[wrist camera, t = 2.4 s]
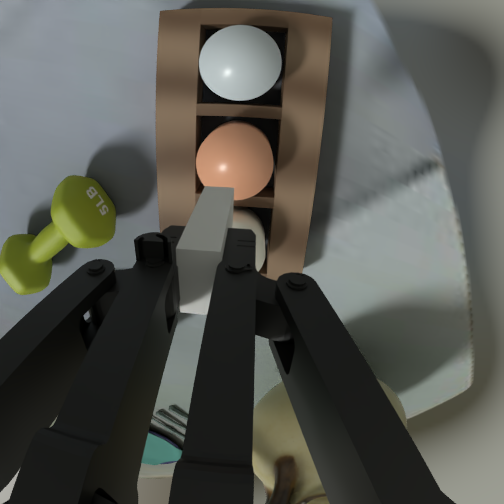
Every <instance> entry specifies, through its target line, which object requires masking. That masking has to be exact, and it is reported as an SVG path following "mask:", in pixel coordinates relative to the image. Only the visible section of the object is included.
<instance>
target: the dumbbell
mask: <svg viewBox="0 0 504 504" xmlns="http://www.w3.org/2000/svg"><path fill="white" fill-rule="evenodd" d="M51 217H52V220H53V221H52V222H51V223H50V224H49V225H47V226H46V227H45V228H44V229H43V230H42V231H41V232H40V233H39V234H38V235H37V236H35V235H32V234H17V235H12V236H11V237H9V238H8V239H7V240H6V242H5V243H4V245H3V247H2V251H1V255H0V274H1V275H2V277H3V278H4V279H5V281H6V282H7V283H8V284H9V286H10V287H11V288H12V289H13V290H14V291H15V292H16V293H18V294H20V295H27V294H33V293H37V292H40V291H42V290H43V289H45V288H46V287H47V286H48V285H49V282H50V279H51V273H52V257H53V256H54V255H56V254H57V253H58V252H59V251H61V250H62V249H63V248H64V247H65V246H66V245H67V244H68V243H70V244H71V245H73V246H74V247H77V248H94V247H99V246H102V245H104V244H105V243H107V242H108V241H109V240H111V239H112V238H113V236H114V233H115V225H116V209H115V206H114V204H113V202H112V201H111V199H110V198H109V197H108V195H107V194H106V192H105V191H104V190H103V188H102V187H101V186H100V184H99V183H98V182H97V181H95V180H94V179H91V178H88V177H83V176H76V175H72V176H68V177H66V178H65V179H64V180H63V181H62V182H61V183H60V184H59V185H58V187H57V188H56V190H55V193H54V196H53V200H52V205H51Z"/></svg>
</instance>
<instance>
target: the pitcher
mask: <svg viewBox="0 0 504 504" xmlns="http://www.w3.org/2000/svg"><path fill="white" fill-rule="evenodd" d="M376 379H377V378H376ZM377 380H378V382H379V384H380V385H381V387H382V389H383V390H384V392H385V394H386V395H387V397H388V399H389V400H390V402H391V404H392V405H393V407H394V409H395V411H396V412H397V414H398V416H399V417H400V419H401V421H402V422H403V424H404V426H405V428H406V429H407V420H406V415H405V411H404V408H403V406H402V403H401V402H400V400H399V398H398V397H397V395H396V394H395V393H394V392H393V390H392V389H391V388H390V387H388V386H387V385H386V384H385V383H383V382H382V381H380V380H379V379H377ZM252 464H253V470H254V473H255V474H256V475H257V477H259V479H260V480H261V481H262V482H263V484H264V488H265V493H266V497H267V499H266V503H265V504H329V501H328V499H327V496H326V493H325V491H324V488H323V486H322V483H321V481H320V478H319V475H318V473H317V470H316V468H315V465H314V462H313V460H312V457H311V455H310V452H309V449H308V447H307V444H306V441H305V439H304V436H303V434H302V431H301V428H300V426H299V423H298V420H297V418H296V415H295V412H294V410H293V407H292V404H291V402H290V399H289V396H288V394H287V391H286V388H285V386H284V383H283V381H282V382H281V383H279V384H278V385H276V386H275V387H274V388H272V389H271V390H270V391H269V392H268V393H267V394H266V395H265V396H264V397H263V398H262V399H261V400H260V401H259V402H258V404H257V405H256V406H255V408H254V409H253V452H252Z"/></svg>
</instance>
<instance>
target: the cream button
mask: <svg viewBox="0 0 504 504" xmlns="http://www.w3.org/2000/svg"><path fill="white" fill-rule="evenodd" d="M232 228H239V229H251V230H252V231H253V232H254V233H255V234H256V263H255V266H256V269H257V271H259V270H260V269H261V267H262V265H263V263H264V260H265V232H264V226H263V223H262V221H261V219H260V218H259V217H258V215H257V214H255V213H254V212H253V211H252V210H250V209H248V208H246V207H243V206H233V226H232Z"/></svg>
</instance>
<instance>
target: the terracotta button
mask: <svg viewBox="0 0 504 504" xmlns="http://www.w3.org/2000/svg"><path fill="white" fill-rule="evenodd" d="M196 168H197V173H198V176H199V178H200V180H201V182H202V183H203V185H204V186H212V187H230V188H234V200H243V199H247V198H250V197H252V196H254V195H256V194H257V193H259V192H260V191H261V190H262V189H263V188H264V187H265V186H266V185H267V183H268V182H269V180H270V178H271V175H272V172H273V155H272V150H271V146H270V142H269V140H268V138H267V136H266V135H265V133H264V132H263V131H262V130H261V129H260V128H259V127H257V126H256V125H254V124H252V123H249V122H246V121H240V120H234V121H229V122H225V123H223V124H221V125H219V126H218V127H216V128H215V129H214V130H213V131H212V132H211V133H210V134H209V135H208V137H207V138H206V139H205V140H204V141H203V143H202V144H201V146H200V148H199V150H198V153H197V157H196Z"/></svg>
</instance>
